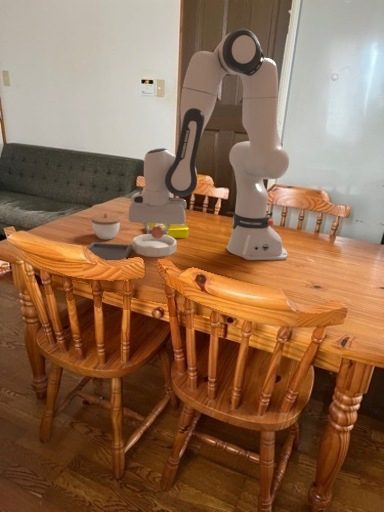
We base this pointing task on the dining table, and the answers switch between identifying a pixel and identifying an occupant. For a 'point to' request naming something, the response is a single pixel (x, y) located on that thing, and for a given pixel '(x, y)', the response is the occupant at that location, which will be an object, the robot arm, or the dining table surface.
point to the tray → (110, 250)
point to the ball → (157, 232)
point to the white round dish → (154, 245)
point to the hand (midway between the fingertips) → (157, 234)
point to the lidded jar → (105, 225)
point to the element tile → (173, 229)
